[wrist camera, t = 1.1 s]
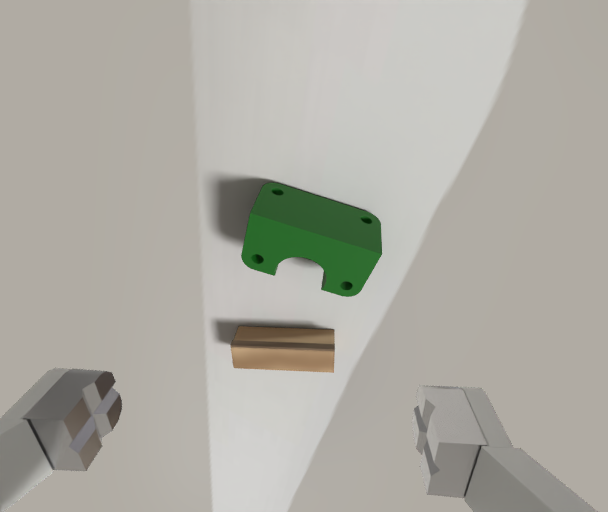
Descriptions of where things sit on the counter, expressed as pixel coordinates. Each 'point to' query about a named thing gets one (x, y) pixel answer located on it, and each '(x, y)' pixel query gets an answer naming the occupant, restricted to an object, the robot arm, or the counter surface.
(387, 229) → the counter surface
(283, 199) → the clamp
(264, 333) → the stop rail
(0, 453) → the robot arm
